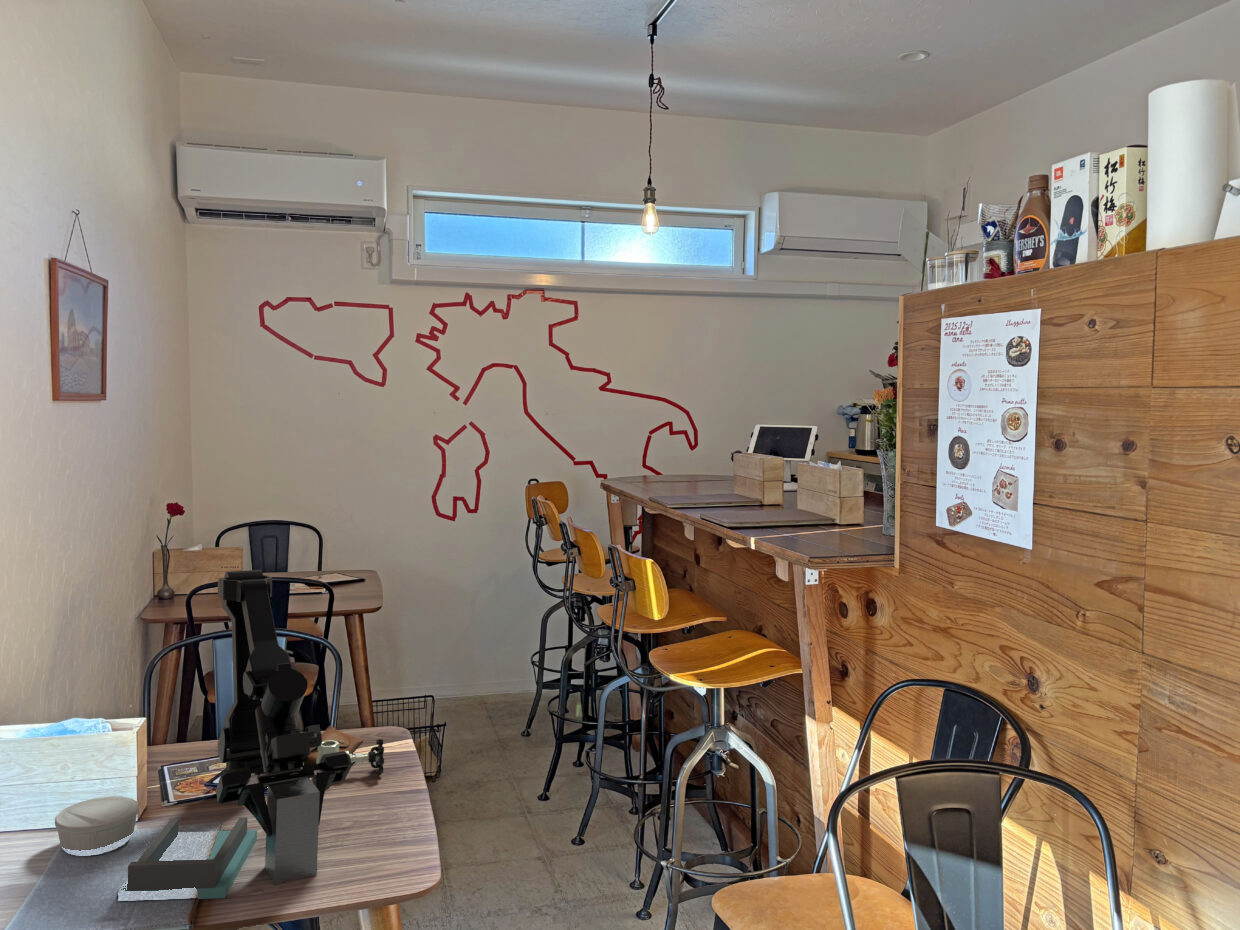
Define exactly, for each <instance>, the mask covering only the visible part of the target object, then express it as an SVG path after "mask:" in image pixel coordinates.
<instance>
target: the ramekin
mask: <svg viewBox="0 0 1240 930" xmlns="http://www.w3.org/2000/svg"><path fill="white" fill-rule="evenodd" d="M139 811H140V803H139V802H138V800H136V799H134V798H130V797H127V796H126V797H125V796H119V795H118V796H116V795H113V796H111V795H110V796H103V797H96V798H95V797H94V798H91V799H86V800H82V801H80V802H77V803H73V804H71V805H69V806H67V807H65V808H63V809H62V810H61V811H59V812H58V814H57V815H56V816H55V817H54V826H55V828H56V830H57V833H58V840H59V845H60V848H61V847H63V848H65V849H70V850H79V851H81V850H91V849H97V848H100V847H105V846H107V845H110V844H113V843H114V842H117V841H119V840H121V839H123V838H125V837H127V836H129V835H131V834H132V833H133V832H135V827H136V822H137V817H138V816H137V815H138V814H139ZM133 834H134V833H133Z"/></svg>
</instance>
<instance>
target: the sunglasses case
mask: <svg viewBox="0 0 1240 930" xmlns="http://www.w3.org/2000/svg"><path fill="white" fill-rule="evenodd" d="M321 735H322V742H323V741H328V740H333V741H337V742H338V743H339V752H341V751H349V754H352V755H354V753H355V752H356V750H357V749H358V748H359V746H360V745H362V744H363V742H364V740H363V739H360V738H358V737H355V736H352V735H350V734H348V733H345V732H343V731H341V730H338V729H336V728H335V727H334V726H332V725H328V726H327V728H325V730H324V731H323V732H321ZM361 743H362V744H361ZM310 752H311V753H310V754H308V753H307V754H308V759H307V761H305V762H304V766H306V765H312V764H317V763H316V761H317V757H318V755H319V753H318V747H315V748H310ZM353 752H354V753H353Z"/></svg>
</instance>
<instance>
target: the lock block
mask: <svg viewBox="0 0 1240 930" xmlns="http://www.w3.org/2000/svg"><path fill="white" fill-rule="evenodd" d="M266 795H267V797H266V804H267V808H268V812H269V816H270V820H271V825H272V836H271V837H268V836H267V834H266V833H265V857H264V858H265V859H264V862H265V863H264V868H265V869H266V871H267V873H268V876H269V877H270V879H271V881H272V883H273V885H274V886H275V885H279V884H283V883H284V884H285V883H288V882H294V881H298V880H302V879H305V878H310V877H314V876H317V875H318V851H319V849H318V848H319V826H320V824H319V798H320V791H319V790H318V789H317V788H316V786H315V785H314V784H313V782H312V779H311V778H304V779H298V780H292V781H286V782H280V783H275V784H269V785H268V788H267V794H266Z"/></svg>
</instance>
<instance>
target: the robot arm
mask: <svg viewBox="0 0 1240 930" xmlns="http://www.w3.org/2000/svg"><path fill="white" fill-rule="evenodd" d="M217 594H218V597H219V598H220V599H221V607H222V609H223V610H224V612H225V613H226V615H227V616H228V617H229V619H230V621H231V639H232V641H231V644H232V645H231V646H232V678H233V680H232V682H233V683H232V685H233V702H232V704H231V706H230V707H229V710H228V712H227V713H226V715H225V716H224V727H223V728H221V731H220V735H219V738H218V740H217V756H218V758H219V760H220V761H221V763H222V764H226V766H225V770H223V772H222V773H221V774H220V775H219V779H218V782H217V786H216V799H217V804H219V805H223V804H230V803H235V802H236V805H237V806H238V807H239V806H241V807H242V806H244V807H245V808H246V809H247V811H249V813H250V814H251V815H252V816H253V817H254V818H255V820H256V821H257V823H258V824H259V825H260V827H261V829H262V830H263V831H264V833H265V835H266V834H267V836H268V837H271V836H272V825H271V820H270V816H269V812H268V808H267V799H266V796H265V790H266V789H265V788H267V787H268V785H269V784H275V783H280V782H286V781H292V780H298V779H304V778H310V779H311V781H312V782H313V784H314V785H315V786H316V788H317V789H318V790H319V791H320V798H319V825H320V821H321V816H322V810H323V804H324V797H325V793H326V791H327V790H329V789H330V787H331V785H333V784H338V783H341V782H344V781H345V780H346V778H347V776H348V774H349V772H350V771H351V768H352V766H353V765H352V764H353V762H352V763H351V758H350V755H349V754H348V753H346V752H345V751H341V752H335V753H329V754H323V756H322V758H321V760H320V762H319V763H318V764H312V765H306V766H304V762H305V761H307V759H308V754H310V753H311V752H310V748H315V747H319V746H321V745H322V735H321V734H322V731H321V727H320V724H315V725H313V724H312V725H308V726H307V727H305V728H304V731H300V728H298V723H297V719H296V714H298V713H299V710H300V707H301V705H302V703H303V701H304V698H305V695H306V692H307V691H308V690H307V689H308V687H309V686H308V685H309V684H308V679H307V678H306V677H305V676H304V674H303V673H301V672H300V671H298V670H297V669H296V667H295V666H293V665H292V662H291V657H290V654H289V653H288V652H287V651H286V650H285V649H284V648H282V647H281V646H280V644H279V641H278V634H277V631H276V625H275V620H274V615H273V609H272V604H271V600H270V598H271V597H273V576H270V575H265V574H264V572H263V570H262V569H252V570H250V569H249V570H247V569H246V570H230V571H225V572H224V577H219V578H218V580H217ZM307 753H308V754H307ZM267 789H268V788H267Z"/></svg>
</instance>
